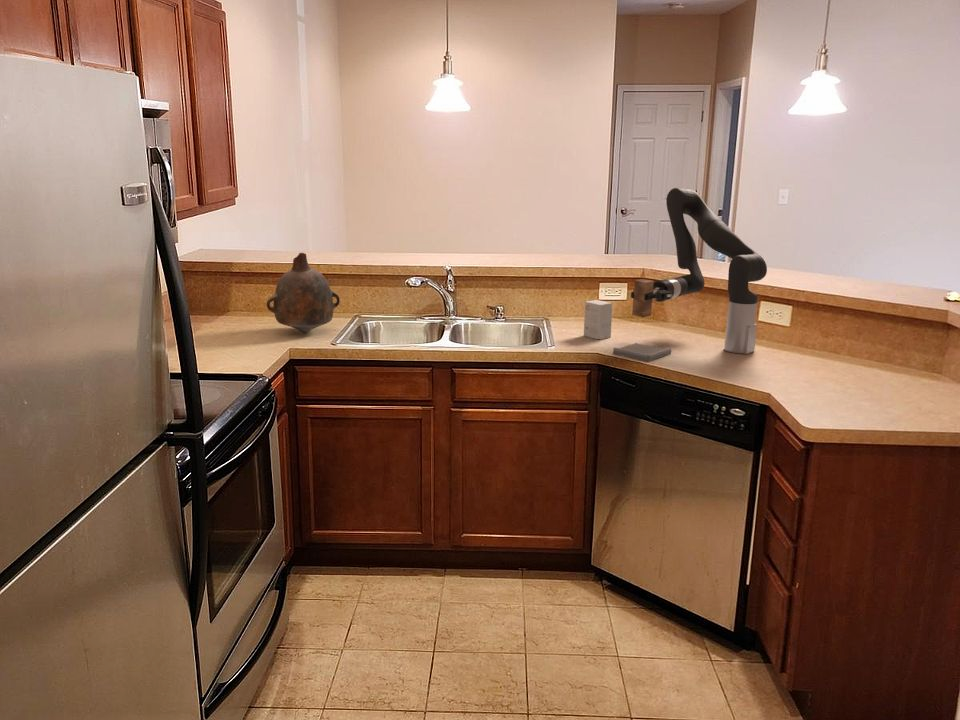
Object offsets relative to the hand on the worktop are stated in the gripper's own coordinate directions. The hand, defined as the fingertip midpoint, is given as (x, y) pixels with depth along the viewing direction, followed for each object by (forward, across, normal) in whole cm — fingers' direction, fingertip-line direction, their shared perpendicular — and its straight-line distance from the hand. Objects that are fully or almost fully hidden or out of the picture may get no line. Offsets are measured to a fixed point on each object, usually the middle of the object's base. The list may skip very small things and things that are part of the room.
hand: (638, 296), depth 267 cm
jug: (+68, -99, +20) cm, 122 cm away
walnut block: (-3, 0, +7) cm, 7 cm away
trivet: (+2, +4, +19) cm, 20 cm away
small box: (-6, -21, +20) cm, 29 cm away
